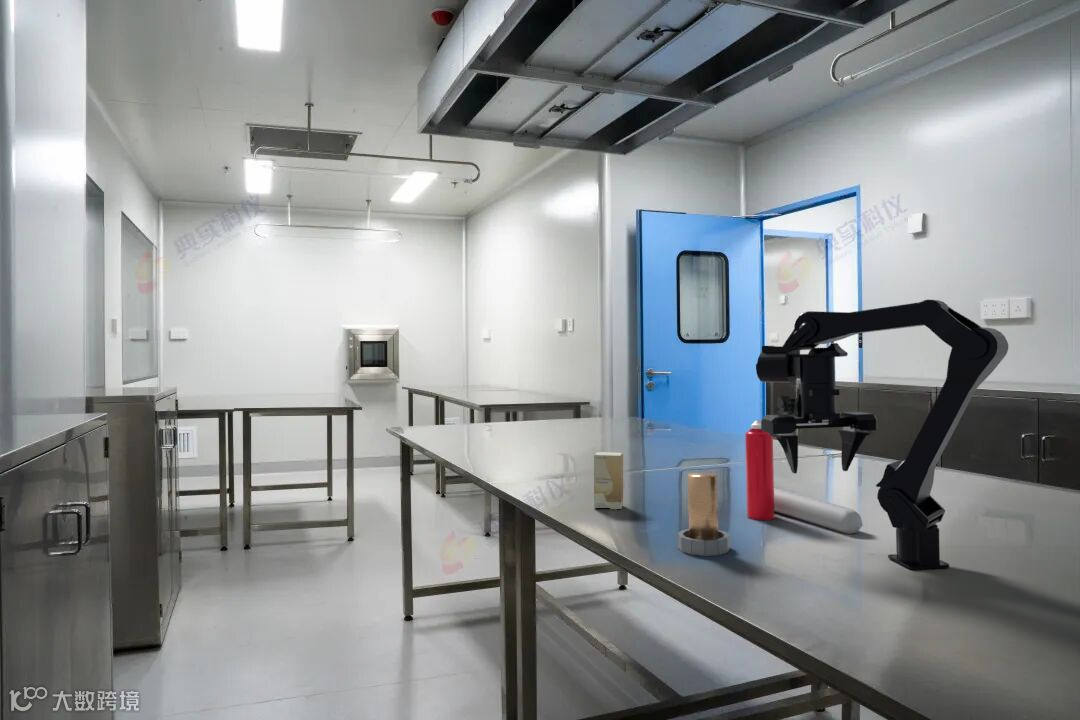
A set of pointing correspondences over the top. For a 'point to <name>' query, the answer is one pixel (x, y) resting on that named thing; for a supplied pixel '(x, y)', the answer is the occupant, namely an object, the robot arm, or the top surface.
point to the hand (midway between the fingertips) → (819, 471)
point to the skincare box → (608, 480)
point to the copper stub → (703, 506)
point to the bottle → (759, 473)
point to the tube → (817, 511)
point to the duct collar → (704, 544)
